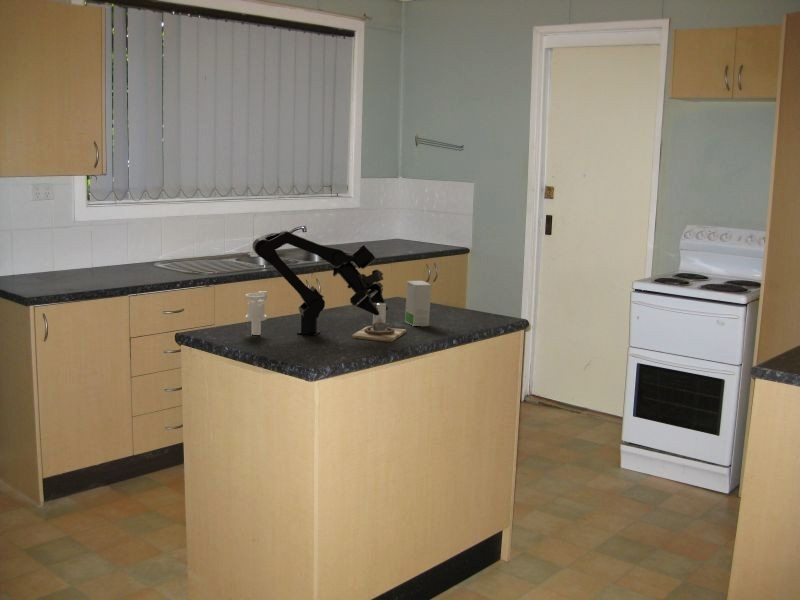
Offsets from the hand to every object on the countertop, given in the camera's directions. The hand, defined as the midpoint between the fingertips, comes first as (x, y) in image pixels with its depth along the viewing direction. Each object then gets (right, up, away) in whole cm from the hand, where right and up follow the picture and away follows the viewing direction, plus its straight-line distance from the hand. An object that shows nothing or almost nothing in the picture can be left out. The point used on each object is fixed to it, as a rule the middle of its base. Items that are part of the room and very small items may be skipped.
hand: (382, 312), depth 307 cm
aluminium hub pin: (-1, -7, +2) cm, 7 cm away
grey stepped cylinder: (-43, -8, -3) cm, 44 cm away
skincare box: (+12, -5, +21) cm, 25 cm away
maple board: (-1, -8, +2) cm, 8 cm away
